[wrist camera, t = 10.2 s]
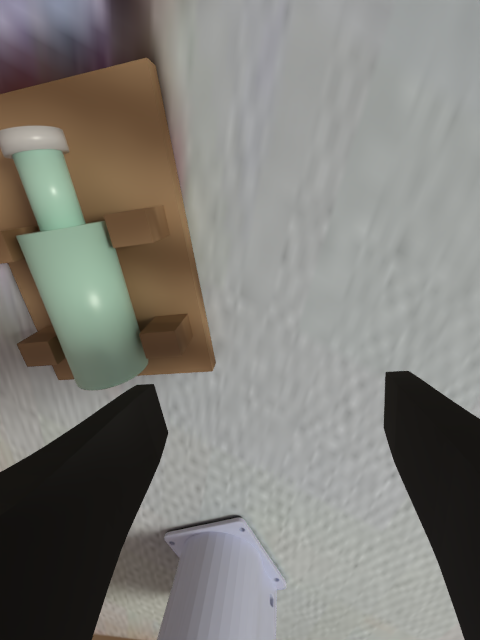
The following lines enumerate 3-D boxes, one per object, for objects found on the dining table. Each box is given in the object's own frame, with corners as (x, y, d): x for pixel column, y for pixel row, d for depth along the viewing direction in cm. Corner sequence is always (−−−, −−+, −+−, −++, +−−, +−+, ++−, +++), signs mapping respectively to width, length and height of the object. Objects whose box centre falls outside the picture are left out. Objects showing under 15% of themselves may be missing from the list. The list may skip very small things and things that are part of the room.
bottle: (146, 346, 20) (150, 376, 17) (81, 364, 19) (70, 399, 16) (85, 137, 16) (71, 116, 12) (-4, 146, 15) (-46, 127, 11)
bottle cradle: (215, 362, 21) (203, 394, 17) (67, 372, 23) (33, 402, 19) (155, 65, 15) (120, 33, 11) (-40, 113, 17) (-115, 96, 13)
